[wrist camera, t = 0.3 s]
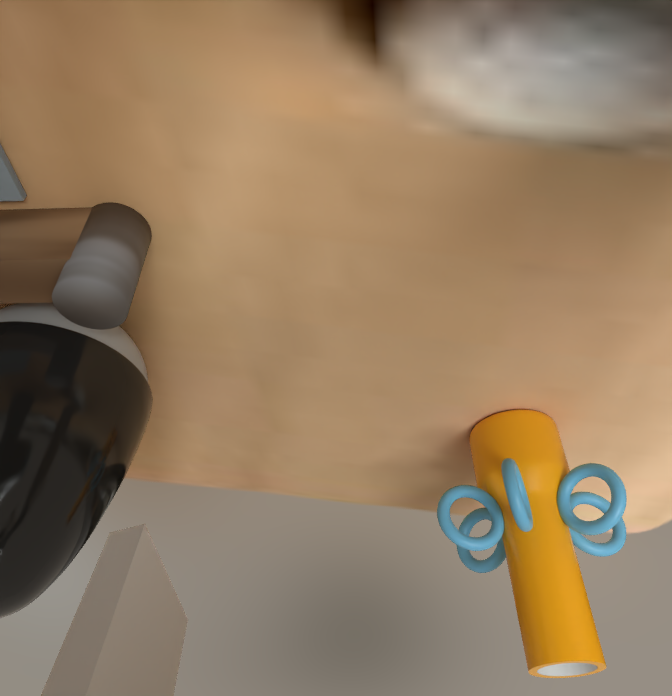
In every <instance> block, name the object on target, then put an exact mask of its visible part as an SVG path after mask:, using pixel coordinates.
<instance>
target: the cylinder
mask: <svg viewBox="0 0 672 696" xmlns="http://www.w3.org/2000/svg"><path fill="white" fill-rule="evenodd" d="M469 441H470V447H471V453H472V459H473V465H474V470H475V476H476V482H477V487H475V486H470V485H460V486H455V487H453V488H451V489H449V490H448V491H446V492H445V493H444V494H443V496H442V497H441V499H440V501H439V503H438V507H437V517H438V521H439V524H440V526H441V529H442V530H443V532H444V533H445V535H446V536H447V537H448V538H449V539H450V540H451V541H452V542H453V543H455V544H456V545H457V550H458V554H459V557H460V559H461V561H462V562H463V563H464V565H465V566H466V567H467V568H469V569H470V570H472V571H474V572H478V573H486V572H490V571H492V570H494V569H496V568H497V567H498V566H499V565H501V564H502V562H503V561H504V560H505V558H507V564H508V569H509V573H510V579H511V584H512V589H513V594H514V599H515V604H516V610H517V615H518V620H519V625H520V630H521V635H522V640H523V646H524V651H525V656H526V661H527V666H528V671H529V674H531V675H533V676H537V677H545V678H568V677H577V676H584V675H590V674H594V673H598V672H600V671H602V670H604V669H605V668H606V663H605V660H604V656H603V652H602V648H601V645H600V642H599V638H598V634H597V630H596V627H595V623H594V619H593V616H592V612H591V608H590V605H589V601H588V597H587V593H586V590H585V586H584V582H583V579H582V575H581V571H580V568H579V564H578V560H577V556H576V552H575V549H574V545H575V546H576V547H578V548H579V549H581V550H582V551H584V552H586V553H588V554H591V555H594V556H610V555H613V554H615V553H617V552H618V551H619V550H620V549H621V548H622V547H623V545H624V543H625V540H626V527H625V524H624V521H623V519H622V515H623V513H624V510H625V507H626V490H625V487H624V484H623V482H622V480H621V479H620V477H619V476H618V475H617V474H616V473H615V472H614V471H613V470H611V469H610V468H608V467H606V466H604V465H601V464H595V463H589V464H583V465H580V466H578V467H576V468H574V469H573V470H571V471H570V470H569V467H568V463H567V460H566V456H565V453H564V449H563V446H562V443H561V439H560V436H559V432H558V429H557V426H556V424H555V422H554V421H553V419H552V418H550V417H549V416H548V415H546V414H544V413H542V412H538V411H535V410H521V409H519V410H509V411H504V412H500V413H497V414H494V415H491V416H489V417H487V418H485V419H484V420H482V421H480V422H479V423H478V424H477V425H476V426H475V427H474V428H473V429H472V431H471V434H470V439H469ZM591 476H595V477H599V478H601V479H603V480H604V481H605V482H606V483H607V484H608V486H609V488H610V490H611V503H610V502H608V501H607V500H606V499H604V498H603V497H601V496H599V495H596V494H594V493H590V492H576V493H573V494H571V492H572V490H573V488H574V486H575V485H576V484H577V483H578V482H579V481H580V480H582V479H584V478H586V477H591ZM463 497H468V498H472V499H475V500H477V501H479V502H480V503H482V504H483V505H484V506H485V507H486V508H479V509H476V510H474V511H472V512H471V513H470V514H468V515H467V516H466V517H465V519H464V520H463V522H462V523H461V525H460V527H459V530H458V529H457V528H456V527H455V526H454V524H453V523H452V521H451V518H450V507H451V505H452V503H453V502H454V501H455V500H457V499H459V498H463ZM579 504H589V505H592V506H595V507H596V508H598V509H600V510H601V511H602V512H603V513H604V515H603V516H602V517H601V518H599V519H597V520H594V521H583V520H581V519H579V518H578V517H576V516H575V514H574V513H573V509H574V507H575V506H577V505H579ZM484 519H487V520H490V521H492V526H491V529H490V531H489V532H488V533H487V534H486V535H484V536H482V537H469V534H470V531H471V529H472V528H473V526H474V525H475V524H476V523H477V522H479V521H481V520H484ZM611 528H612V529H613V534H612V538H611V539H610V540H609V541H608V542H606V543H595V542H592V541H590V540H588V539H586V538H585V537H583V536H582V535H581V534H584V535H598V534H602V533H604V532H606V531H608V530H610V529H611ZM497 542H498V544H497V547H496V549H495V551H494V553H493V554H492V555H491V556H490V557H489V558H487V559H485V560H477V559H475V558H473V556H472V555H471V554H470V552H469V550H472V551H482V550H486V549H488V548H491V547H493V546H494V545H495V544H496V543H497ZM573 544H574V545H573Z"/></svg>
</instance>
